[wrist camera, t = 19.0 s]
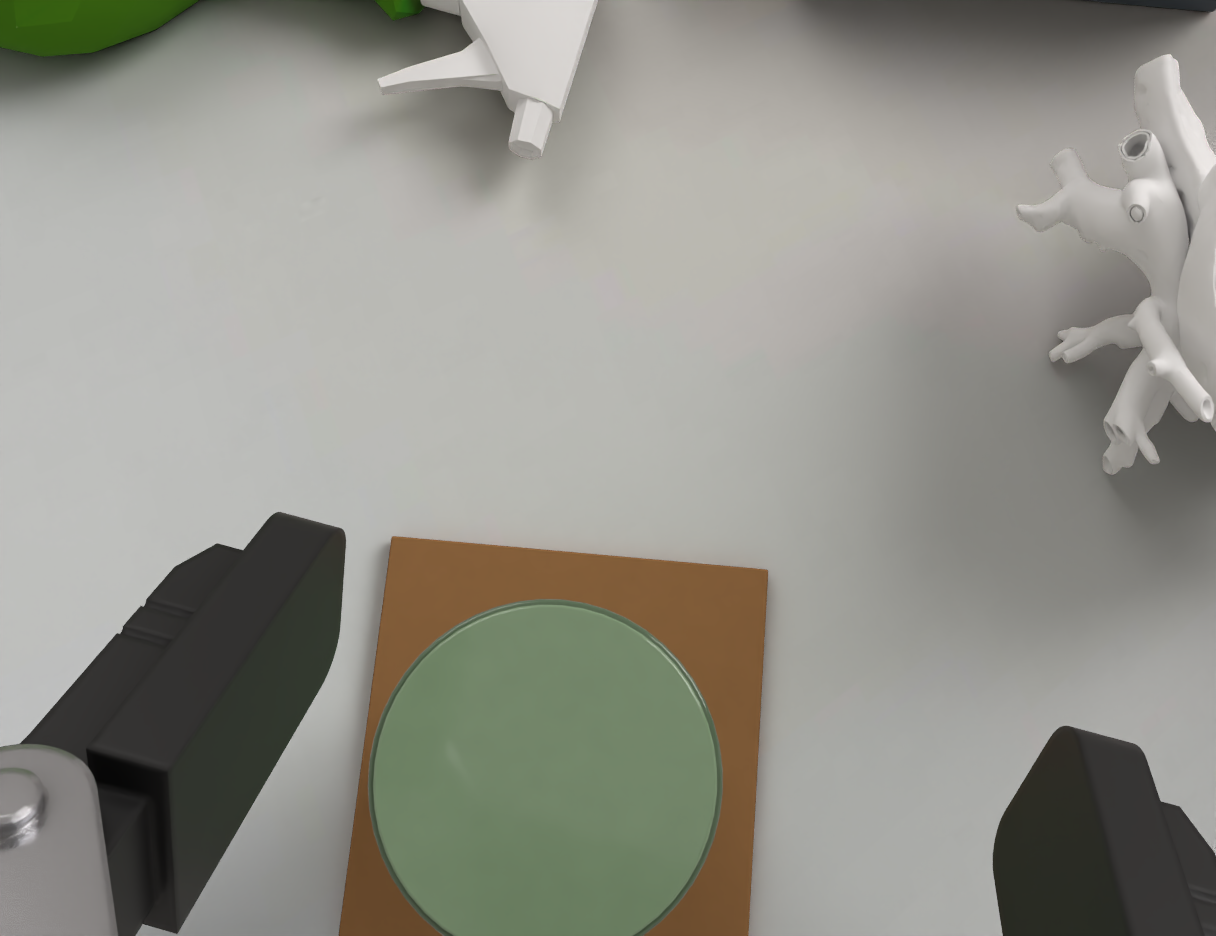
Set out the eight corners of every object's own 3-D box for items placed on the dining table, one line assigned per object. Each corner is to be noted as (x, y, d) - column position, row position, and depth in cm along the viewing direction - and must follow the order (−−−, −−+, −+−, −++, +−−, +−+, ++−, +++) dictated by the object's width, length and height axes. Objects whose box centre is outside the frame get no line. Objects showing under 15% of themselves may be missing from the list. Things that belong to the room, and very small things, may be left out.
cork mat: (765, 571, 28) (768, 569, 28) (743, 972, 26) (746, 976, 26) (394, 538, 28) (391, 535, 28) (341, 936, 26) (337, 940, 26)
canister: (683, 645, 28) (734, 613, 18) (666, 881, 26) (712, 986, 17) (460, 625, 28) (391, 582, 18) (432, 860, 26) (341, 954, 17)
